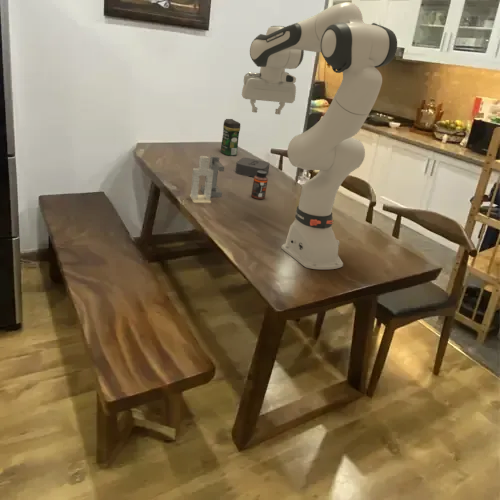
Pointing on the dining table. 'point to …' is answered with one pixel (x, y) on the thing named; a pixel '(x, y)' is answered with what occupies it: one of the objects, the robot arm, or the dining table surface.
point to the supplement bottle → (259, 185)
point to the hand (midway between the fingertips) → (266, 113)
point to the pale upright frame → (208, 173)
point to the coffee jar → (230, 137)
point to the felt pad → (200, 199)
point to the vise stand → (214, 175)
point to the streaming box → (251, 167)
